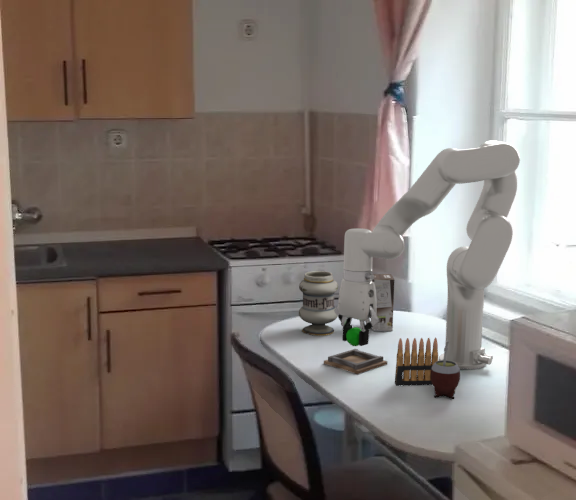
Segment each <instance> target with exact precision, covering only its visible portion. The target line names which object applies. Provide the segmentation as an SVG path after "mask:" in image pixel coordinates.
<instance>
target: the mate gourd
mask: <svg viewBox="0 0 576 500" xmlns="http://www.w3.org/2000/svg"><path fill="white" fill-rule="evenodd" d="M445 342H446V341H445ZM448 343H449V342H446V345H445V346H444V349H443V352H444V353H443V354H444V360H441V361H439V360H438V361H437V362H435V363H434V364H433V366H432V369H431V374H430V378H431V382H432V385H431V386H433V390H434V395H433V398H435V399H439V398H443V397H445V398H447V399H450V400H455V398H456V397H455V396H454V394H456V389H457V387H458V386H459V383H460V381H461V369H459V367H458V365H457V364H456V363H455V362H452V361H446V355H447V350H448V348H447V347H448Z"/></svg>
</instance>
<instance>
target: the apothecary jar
mask: <svg viewBox="0 0 576 500" xmlns="http://www.w3.org/2000/svg"><path fill="white" fill-rule="evenodd" d="M333 276H334V275H333V273H332V272H330V271H323V270H317V271H307V272H305V274H304V277H303V279H302V280H301V281H300V283H299V285H298V287H299V291H300V292H301V293H302V306H301V307H300V308H299V310H298V316H299V318H300V319H301V320H302V321H303V322H306V323H307V324H309V325H306V326H303V327H302V329H301V332H302V333H303V334H308V335H310V336H319V337H320V336H322V337H323V336H330V335H333V334H334V333H335V329H334V328H333V327H331V326H329V325H327V324H330V323H332V322H335V320H337V318H338V316H337V315H336V313H335V312H334V310H335V309H336V307H337V306H335V293H336V292H337V291H339V290H338V289H339V284H338V281H336V280H335V279H334V277H333Z"/></svg>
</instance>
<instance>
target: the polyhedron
mask: <svg viewBox="0 0 576 500" xmlns="http://www.w3.org/2000/svg"><path fill="white" fill-rule="evenodd" d="M359 331H361V327H357V326H356V327H352V329H350V330H348V332H347V334H346V338H347V341H346V342H347V343H348V344H349V345H350V346H352V347H358V346H359Z"/></svg>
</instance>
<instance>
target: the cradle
mask: <svg viewBox="0 0 576 500" xmlns="http://www.w3.org/2000/svg"><path fill="white" fill-rule="evenodd" d="M323 364H324V365H327V366H331V367H333V368H337V369H340V370H343V371H346V372H350V373H353V374H355V375H356V374H357V375H360V374H363V373H365V372H369V371H372V370H374V369H378V368H381V367H383V366H387V365H388V361H387V360H384V356H382V355H376V354H372V353H369V352H365V351H363V350H360V349H357V348H354V349H350V350H346V351H344V352H339V353H337V354H333V355H331V356H328V357H327V359H325V360H323Z"/></svg>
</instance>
